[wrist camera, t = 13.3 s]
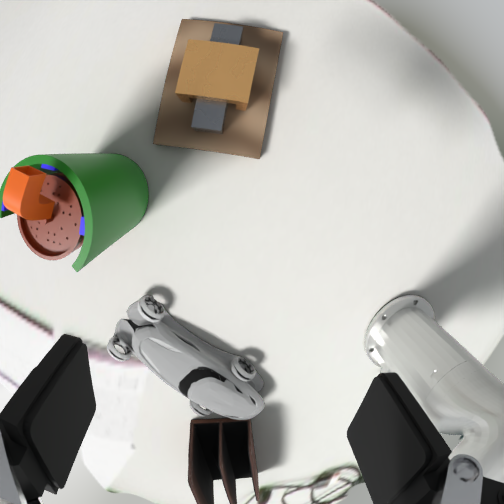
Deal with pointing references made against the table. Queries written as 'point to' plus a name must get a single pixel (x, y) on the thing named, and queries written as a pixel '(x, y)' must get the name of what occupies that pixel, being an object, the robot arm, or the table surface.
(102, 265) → the table surface
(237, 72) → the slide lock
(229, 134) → the rail base
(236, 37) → the rail
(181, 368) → the car model
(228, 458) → the letter holder
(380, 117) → the table surface
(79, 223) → the motor
